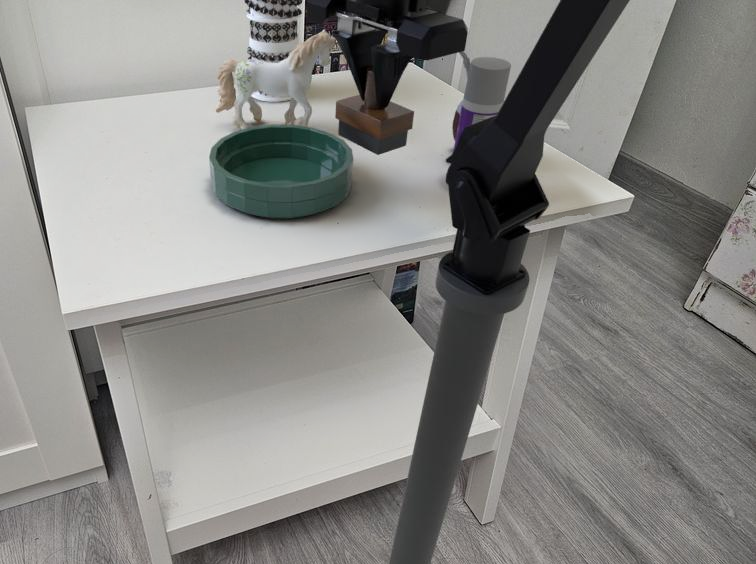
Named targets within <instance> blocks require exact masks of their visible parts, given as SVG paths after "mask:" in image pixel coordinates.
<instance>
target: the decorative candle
mask: <svg viewBox="0 0 756 564" xmlns="http://www.w3.org/2000/svg"><path fill="white" fill-rule="evenodd" d="M244 4H246V5H247V9H246V10H245V11H246V12H245V13H246V18H248V19H249V34H248V36H249V39H248V40H249V41H248V43H249V46H248V47H247V51H246V52H247V54H248V55H249V57H247V60H249V59H256V60H260V61H265V62H270V63H279V62H280V61H282V60H284V59H287V58H288V56H289V54H290V53H291V52H292V51H293V50H294V49H296V47H297V46H298V45H299V44H300V43H299V39H300V38H299V33H298V28H299V27H298V21H299V19H301V16H302V14H303V11H302V9H300V8H299V6H300V5H301V4H303V0H244ZM251 96H252V98H253V99H254V100H258V101H263V102H268V103H269V102H272V103H273V102H274V103H275V102H276V103H279V102H286V101H290V100H291V96H290V95H289V96H283V97H277V96H271V95H268V94H266V93H264V92H262V91H255V92H254V93H253V94H252V95H251Z"/></svg>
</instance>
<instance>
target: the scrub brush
mask: <svg viewBox="0 0 756 564" xmlns="http://www.w3.org/2000/svg"><path fill="white" fill-rule="evenodd" d="M334 117H335V119H336V120H338V129H337V130H338V131H337V135H338V137H341V138H343V139H345V140H346V141H348V142H350V143H353V144H355V145H357V146H359V147H361V148H363V149H365V150H366V151H369V152H371V153H373V154H375V155H377V156H380V155H382V154H385V153H388V152H391V151H394V150H397V149H400V148H404V147H406V146H407V141H408V134H409V133H408V132H409V131H410V130H413V126H414V119H415V118H414V117H415V110H412V109H410V108H407V107H405V106H403V105H400V104H398V103H395V102H392V101H391V100H390V102H389V104H388V106H387V107H386V108H382V109H380V108H379V107H378V103H377V98H376V90H375V80H374V70H373V66H370V67H368V68H367V73H366V86H365V99H364V101H362V99H361V97H360V94H356V95H351V96H348V97H345V98H342V99H338V100H336V101H335V115H334Z"/></svg>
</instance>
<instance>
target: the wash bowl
mask: <svg viewBox="0 0 756 564" xmlns="http://www.w3.org/2000/svg"><path fill="white" fill-rule="evenodd" d="M208 161H209V162H208V163H209V173H210V187H211V189H212V190H213V191H212V192H213V193H214V195H215V198H217V199H218V200H220V201H221V202H222V203H223V204H225V205H226V206H227V207H230V208H232V209H235V210H237V211H240V212H242V213H245V214H248V215H252V216H256V217H261V218H268V219H293V218H294V219H295V218H296V219H297V218H302V217H307V216H314V215H315V214H319V213H321V212H324V211H326V210H329V209H332V208H334V207H336V206H337V205H338V204H340V203H342V202H343V201H344V200H346V198H347V197H348V195H349V193H350V192H351V190H352V184H353V182H352V181H353V170H354V154H353V149H352V147H350V145H349V144H348V143H347V142H346V141H345V140H344V139H342V138H340V136H337V135H335V134H333V133H331V132H329V131H325V130H321V129H319V128H315V127H311V126H307V127H304V126H297V125H291V124H287V125H285V124H268V125H259V126H250V128H247V129H243V130H242V129H239V130H236V131H233V132H231V133H229V134H227V135H225V136H223V137H221V138H220V139H218V141H216V142H215V144H213V146H212V147H211V149H210V152H209V156H208Z"/></svg>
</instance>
